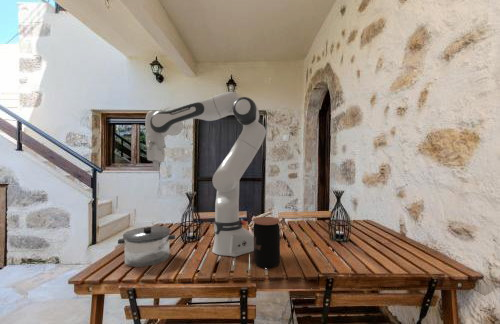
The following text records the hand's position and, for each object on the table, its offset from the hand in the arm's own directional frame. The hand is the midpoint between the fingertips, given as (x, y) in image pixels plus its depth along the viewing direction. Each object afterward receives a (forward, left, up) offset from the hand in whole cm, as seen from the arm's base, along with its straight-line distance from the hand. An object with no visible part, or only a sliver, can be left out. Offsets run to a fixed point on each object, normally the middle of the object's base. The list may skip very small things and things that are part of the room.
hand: (156, 170), depth 124 cm
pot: (+6, +15, -38) cm, 41 cm away
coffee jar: (-36, +46, -38) cm, 70 cm away
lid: (+6, +15, -28) cm, 32 cm away
